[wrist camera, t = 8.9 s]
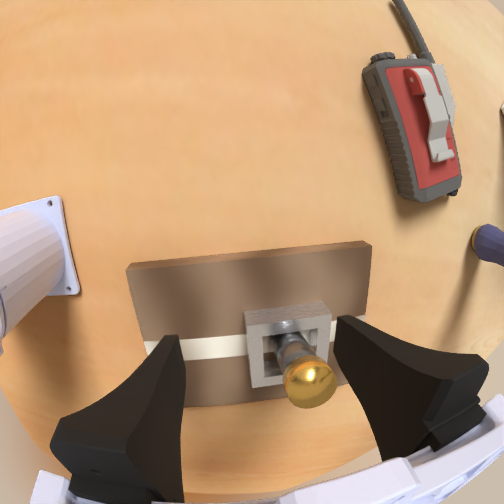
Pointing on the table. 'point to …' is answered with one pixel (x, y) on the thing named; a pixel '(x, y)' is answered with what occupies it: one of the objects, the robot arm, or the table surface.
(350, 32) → the table surface
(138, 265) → the board
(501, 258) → the rubber mallet
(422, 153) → the walkie-talkie
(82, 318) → the table surface
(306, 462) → the table surface
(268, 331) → the pilot socket
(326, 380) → the gold-capped cylinder
